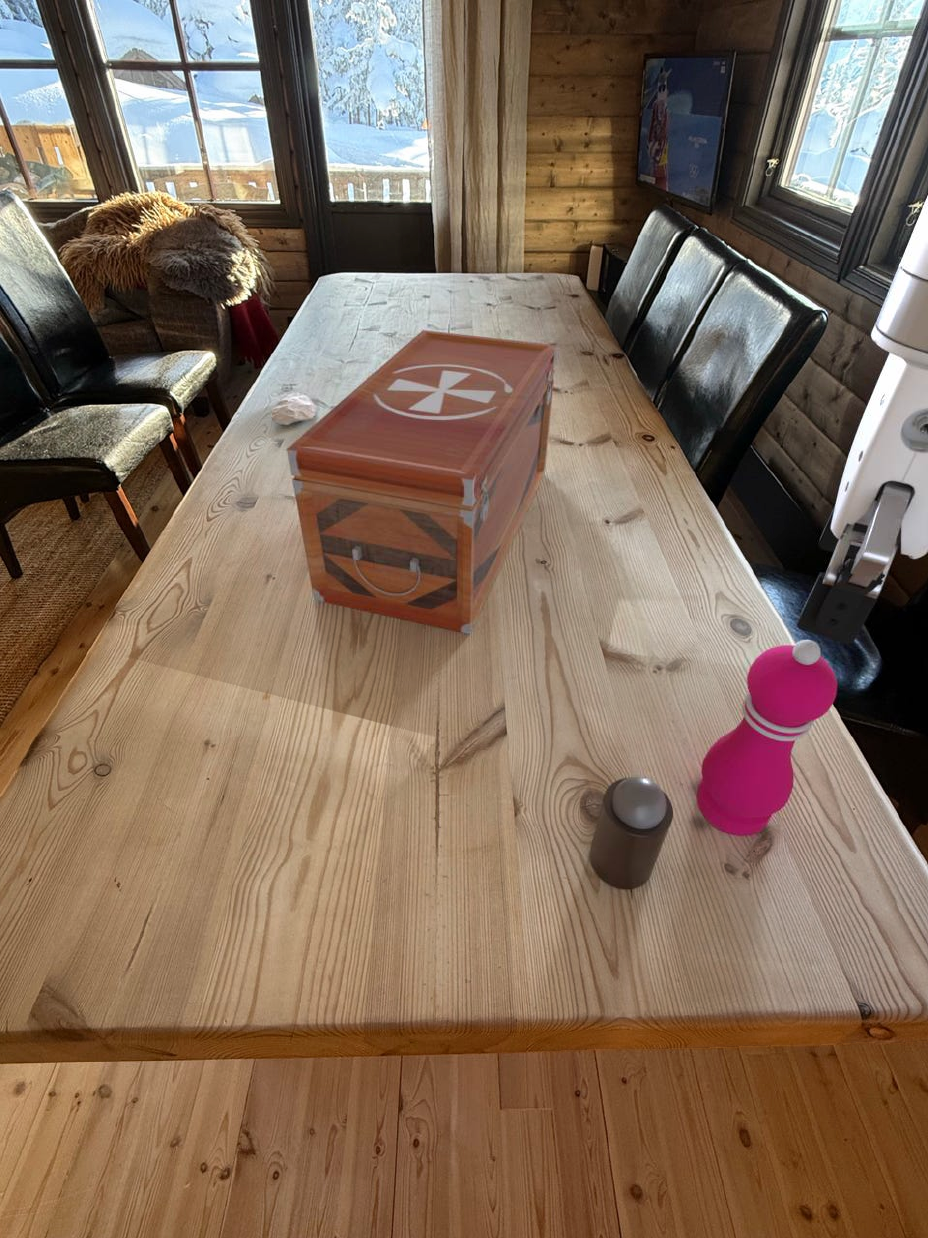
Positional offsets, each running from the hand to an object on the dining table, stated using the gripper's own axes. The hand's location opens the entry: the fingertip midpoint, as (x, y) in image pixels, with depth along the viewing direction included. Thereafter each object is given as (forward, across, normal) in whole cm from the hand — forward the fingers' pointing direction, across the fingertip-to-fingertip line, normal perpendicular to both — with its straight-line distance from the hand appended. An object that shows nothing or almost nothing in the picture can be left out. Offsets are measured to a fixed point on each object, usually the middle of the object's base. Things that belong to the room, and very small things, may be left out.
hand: (833, 590), depth 43 cm
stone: (+26, +45, +89) cm, 103 cm away
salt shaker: (+24, -10, +7) cm, 27 cm away
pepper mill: (+25, 0, 0) cm, 25 cm away
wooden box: (+25, +26, +45) cm, 57 cm away
